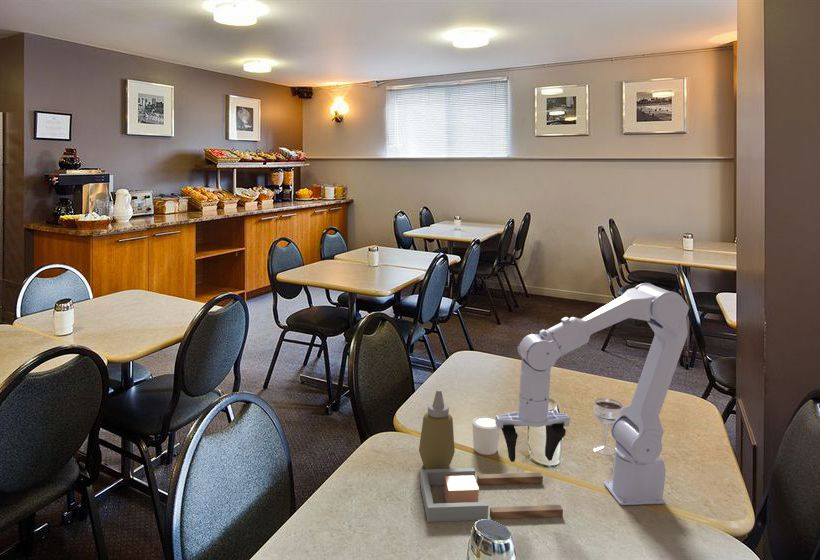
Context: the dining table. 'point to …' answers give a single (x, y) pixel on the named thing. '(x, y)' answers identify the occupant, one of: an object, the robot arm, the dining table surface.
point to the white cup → (485, 435)
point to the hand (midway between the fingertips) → (530, 458)
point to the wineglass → (606, 419)
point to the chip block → (461, 489)
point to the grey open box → (449, 509)
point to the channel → (518, 510)
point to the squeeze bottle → (437, 435)
